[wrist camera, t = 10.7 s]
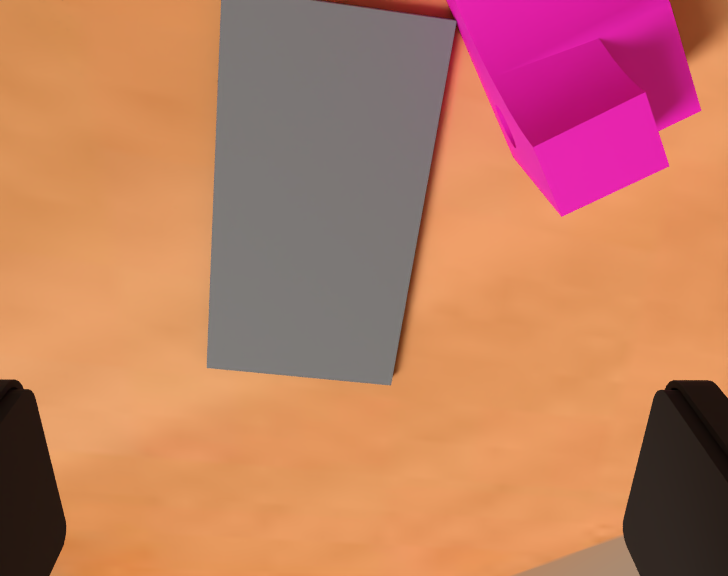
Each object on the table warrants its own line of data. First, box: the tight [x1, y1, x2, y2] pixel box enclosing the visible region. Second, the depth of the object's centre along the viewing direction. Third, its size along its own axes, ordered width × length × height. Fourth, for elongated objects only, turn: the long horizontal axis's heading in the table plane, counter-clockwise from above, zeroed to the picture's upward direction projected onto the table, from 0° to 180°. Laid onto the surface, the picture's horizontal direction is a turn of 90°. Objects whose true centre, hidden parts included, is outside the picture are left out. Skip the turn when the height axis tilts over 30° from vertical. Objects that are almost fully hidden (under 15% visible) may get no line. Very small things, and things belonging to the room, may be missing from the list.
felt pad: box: [207, 0, 457, 385], centre depth 30 cm, size 17×9×1 cm, turn 172°
